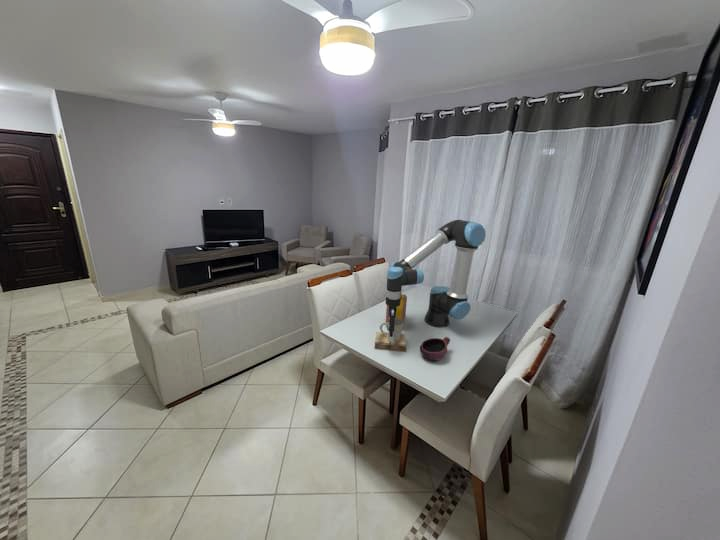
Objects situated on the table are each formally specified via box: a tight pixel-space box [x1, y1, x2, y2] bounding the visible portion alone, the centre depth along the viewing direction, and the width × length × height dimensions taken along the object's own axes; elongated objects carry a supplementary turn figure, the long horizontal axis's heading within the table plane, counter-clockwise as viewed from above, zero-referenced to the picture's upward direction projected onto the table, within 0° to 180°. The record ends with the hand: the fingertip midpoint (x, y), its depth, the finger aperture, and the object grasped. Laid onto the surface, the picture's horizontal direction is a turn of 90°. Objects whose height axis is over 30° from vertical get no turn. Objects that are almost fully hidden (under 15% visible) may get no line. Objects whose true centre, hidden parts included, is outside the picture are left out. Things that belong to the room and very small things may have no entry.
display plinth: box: [374, 331, 407, 353], centre depth 144 cm, size 16×11×4 cm
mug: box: [379, 318, 405, 341], centre depth 143 cm, size 8×13×10 cm, turn 78°
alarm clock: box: [385, 293, 408, 328], centre depth 165 cm, size 18×11×19 cm, turn 168°
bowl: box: [419, 336, 451, 361], centre depth 136 cm, size 16×13×8 cm
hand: (390, 334), depth 143 cm, fingers open, 12 cm apart
